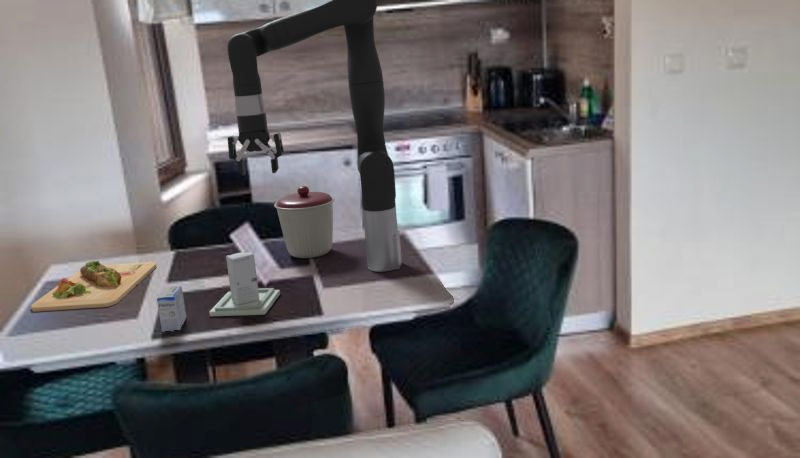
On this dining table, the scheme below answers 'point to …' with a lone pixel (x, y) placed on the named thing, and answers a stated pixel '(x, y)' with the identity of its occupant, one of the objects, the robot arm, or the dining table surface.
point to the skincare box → (242, 277)
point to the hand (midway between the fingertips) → (259, 173)
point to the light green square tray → (246, 304)
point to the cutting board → (94, 286)
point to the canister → (306, 222)
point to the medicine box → (171, 308)
